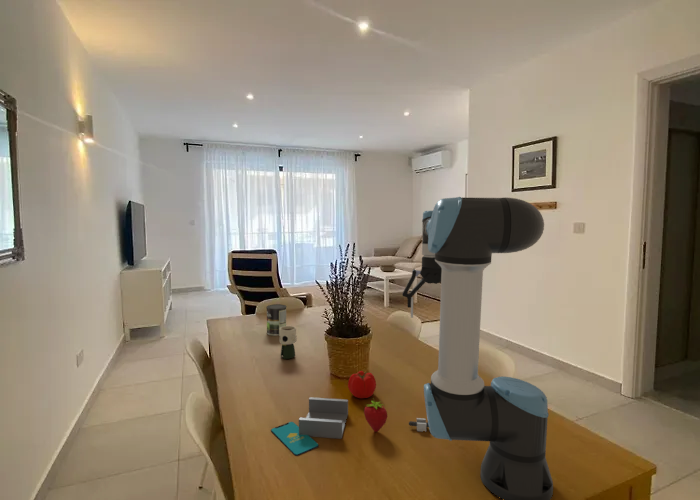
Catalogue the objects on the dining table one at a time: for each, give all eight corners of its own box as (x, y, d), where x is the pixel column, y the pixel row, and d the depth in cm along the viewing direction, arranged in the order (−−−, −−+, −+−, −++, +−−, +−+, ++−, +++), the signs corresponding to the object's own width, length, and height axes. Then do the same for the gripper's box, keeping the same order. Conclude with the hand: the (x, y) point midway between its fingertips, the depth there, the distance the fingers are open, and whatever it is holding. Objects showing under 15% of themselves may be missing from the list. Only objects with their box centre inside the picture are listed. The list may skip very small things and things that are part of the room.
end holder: (341, 438, 105) (341, 422, 105) (298, 435, 107) (298, 419, 106) (347, 414, 119) (348, 399, 118) (309, 411, 120) (309, 397, 120)
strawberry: (375, 441, 104) (375, 406, 103) (359, 429, 110) (359, 395, 109) (392, 434, 107) (392, 400, 107) (375, 422, 114) (375, 390, 113)
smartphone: (295, 454, 97) (269, 428, 109) (295, 457, 98) (269, 431, 109) (319, 444, 102) (292, 420, 114) (319, 447, 102) (292, 423, 114)
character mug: (273, 356, 167) (273, 327, 166) (286, 352, 173) (286, 324, 171) (289, 363, 160) (289, 332, 159) (302, 358, 165) (302, 328, 164)
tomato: (377, 391, 134) (377, 370, 134) (372, 403, 126) (372, 380, 125) (351, 388, 137) (352, 367, 136) (344, 399, 128) (344, 377, 128)
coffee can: (269, 336, 195) (268, 309, 194) (264, 331, 204) (264, 305, 203) (289, 334, 199) (288, 307, 198) (283, 329, 209) (283, 303, 208)
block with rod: (434, 432, 109) (434, 424, 108) (408, 430, 110) (408, 423, 109) (433, 426, 112) (433, 419, 112) (408, 424, 113) (408, 417, 113)
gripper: (469, 255, 133) (467, 316, 135) (396, 254, 136) (395, 313, 138) (472, 257, 125) (471, 321, 127) (395, 256, 129) (395, 318, 131)
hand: (431, 317), depth 133 cm, fingers open, 13 cm apart
